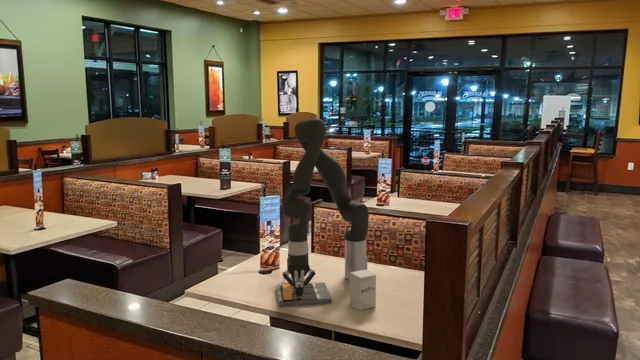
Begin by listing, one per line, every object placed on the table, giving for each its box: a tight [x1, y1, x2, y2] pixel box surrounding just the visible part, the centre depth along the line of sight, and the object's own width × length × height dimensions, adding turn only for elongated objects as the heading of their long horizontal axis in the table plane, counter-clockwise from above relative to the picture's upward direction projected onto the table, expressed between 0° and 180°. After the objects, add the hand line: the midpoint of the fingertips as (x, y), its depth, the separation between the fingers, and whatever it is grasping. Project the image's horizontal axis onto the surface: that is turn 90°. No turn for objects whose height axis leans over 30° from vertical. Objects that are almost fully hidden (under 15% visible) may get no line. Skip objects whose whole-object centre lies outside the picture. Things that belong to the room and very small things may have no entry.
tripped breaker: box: [282, 284, 292, 300], centre depth 183 cm, size 3×4×4 cm
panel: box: [275, 282, 333, 308], centre depth 190 cm, size 20×17×2 cm
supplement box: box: [349, 269, 377, 311], centre depth 180 cm, size 7×7×13 cm
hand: (299, 295), depth 184 cm, fingers closed
